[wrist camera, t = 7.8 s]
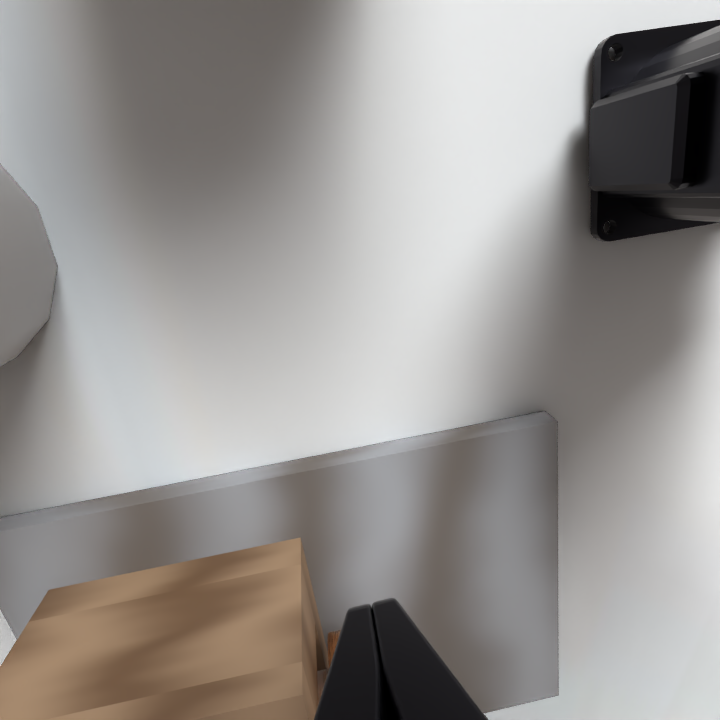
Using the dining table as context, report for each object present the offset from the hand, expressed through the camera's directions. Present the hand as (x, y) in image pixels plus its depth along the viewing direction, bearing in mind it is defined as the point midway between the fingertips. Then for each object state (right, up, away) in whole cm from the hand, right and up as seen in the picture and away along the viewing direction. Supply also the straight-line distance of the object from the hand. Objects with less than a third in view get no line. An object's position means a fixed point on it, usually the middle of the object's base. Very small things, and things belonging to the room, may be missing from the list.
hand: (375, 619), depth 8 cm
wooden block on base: (-3, -7, +14) cm, 16 cm away
